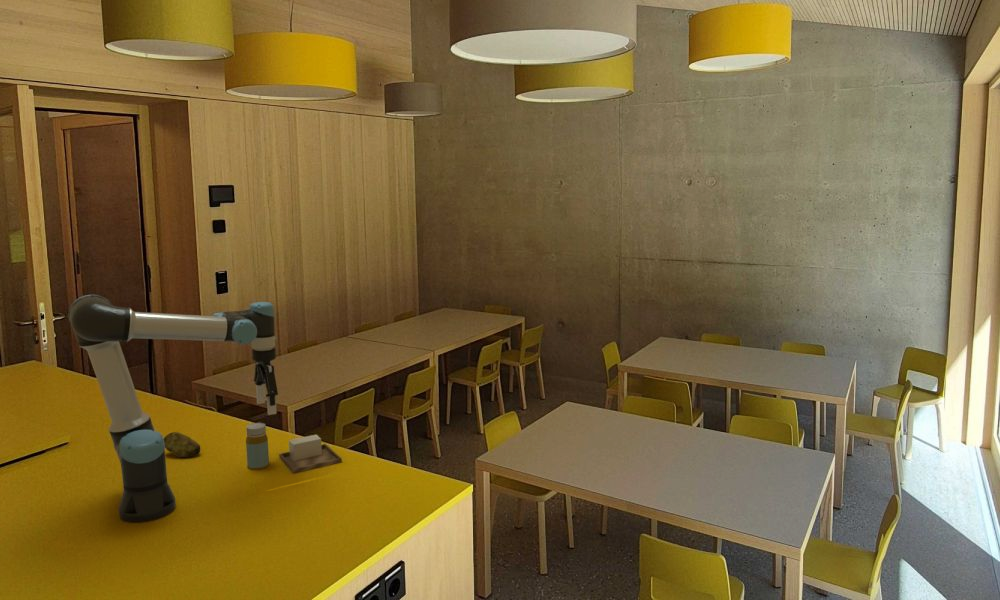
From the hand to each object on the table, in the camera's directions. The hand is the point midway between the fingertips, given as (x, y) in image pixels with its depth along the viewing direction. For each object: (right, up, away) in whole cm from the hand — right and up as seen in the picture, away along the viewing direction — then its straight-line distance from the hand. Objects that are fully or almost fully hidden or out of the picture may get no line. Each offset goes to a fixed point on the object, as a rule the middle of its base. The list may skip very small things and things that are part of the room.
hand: (266, 408), depth 236 cm
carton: (+11, -18, +10) cm, 24 cm away
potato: (-34, -19, +12) cm, 41 cm away
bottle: (-3, -21, +2) cm, 21 cm away
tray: (+13, -20, +7) cm, 25 cm away
